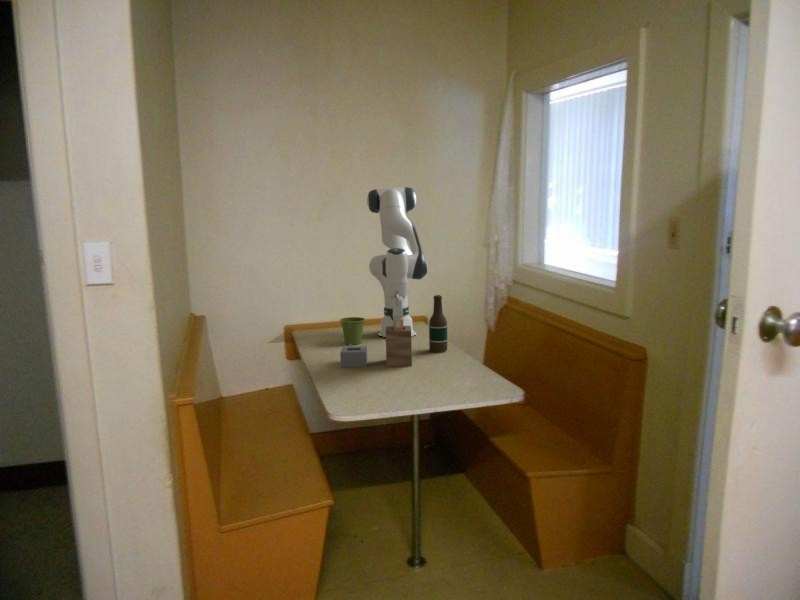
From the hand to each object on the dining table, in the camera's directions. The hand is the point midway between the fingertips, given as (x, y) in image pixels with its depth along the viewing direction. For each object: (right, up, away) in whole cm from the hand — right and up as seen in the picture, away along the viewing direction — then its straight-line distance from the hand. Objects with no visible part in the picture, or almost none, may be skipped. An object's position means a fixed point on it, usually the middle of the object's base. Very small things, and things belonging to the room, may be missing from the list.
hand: (398, 324), depth 238 cm
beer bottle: (+17, -12, +20) cm, 29 cm away
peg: (0, -6, +1) cm, 6 cm away
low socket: (-18, -16, +3) cm, 24 cm away
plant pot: (-21, -10, +37) cm, 44 cm away
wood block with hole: (0, -15, +3) cm, 16 cm away
